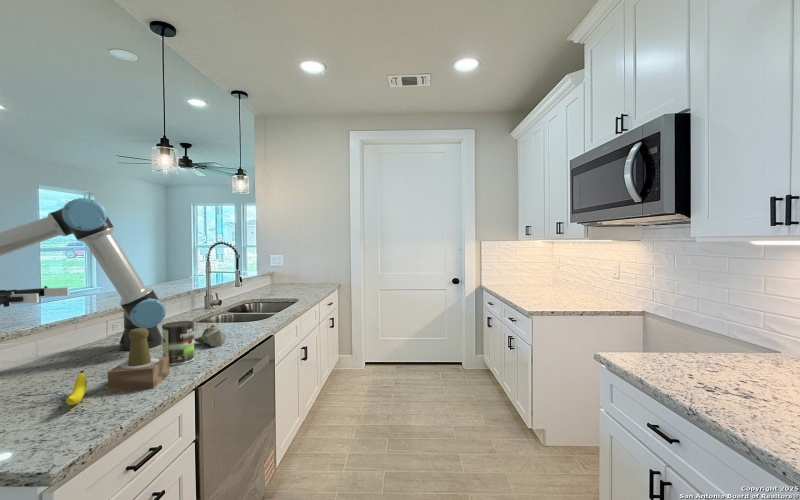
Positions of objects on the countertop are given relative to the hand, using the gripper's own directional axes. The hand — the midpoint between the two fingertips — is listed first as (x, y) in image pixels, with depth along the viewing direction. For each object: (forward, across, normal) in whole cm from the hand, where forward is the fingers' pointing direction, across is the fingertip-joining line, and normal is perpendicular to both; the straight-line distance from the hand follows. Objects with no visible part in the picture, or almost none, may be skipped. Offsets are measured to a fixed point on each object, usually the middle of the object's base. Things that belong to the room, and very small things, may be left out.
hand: (54, 294), depth 115 cm
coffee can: (+31, -12, -29) cm, 44 cm away
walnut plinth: (+26, +8, -28) cm, 40 cm away
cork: (+26, +7, -22) cm, 35 cm away
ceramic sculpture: (+37, -33, -29) cm, 58 cm away
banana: (+16, +20, -28) cm, 38 cm away
